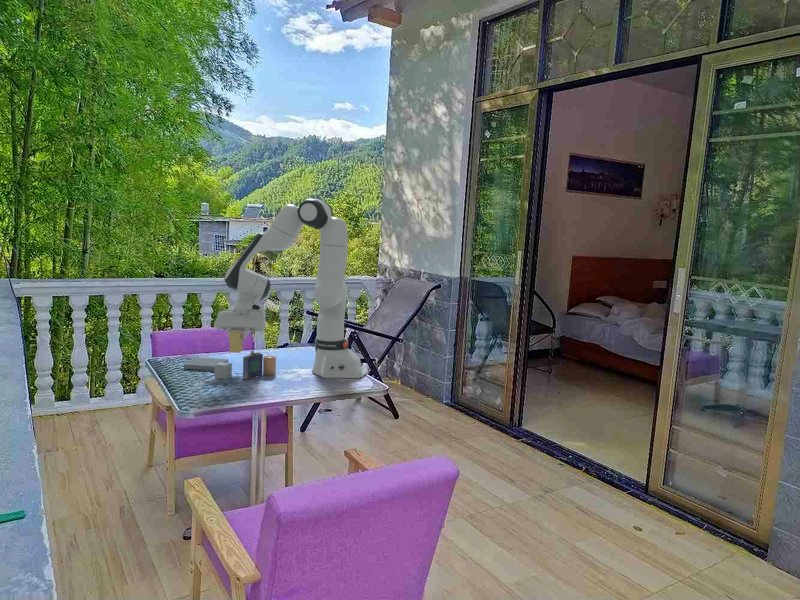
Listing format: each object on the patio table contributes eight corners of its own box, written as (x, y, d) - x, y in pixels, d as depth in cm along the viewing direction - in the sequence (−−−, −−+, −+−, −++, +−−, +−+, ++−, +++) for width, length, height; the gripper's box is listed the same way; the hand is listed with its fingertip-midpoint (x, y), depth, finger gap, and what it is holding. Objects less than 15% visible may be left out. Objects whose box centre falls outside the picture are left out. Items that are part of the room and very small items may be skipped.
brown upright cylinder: (277, 372, 226) (277, 355, 225) (273, 375, 221) (273, 358, 220) (265, 371, 227) (265, 355, 226) (261, 375, 222) (261, 358, 221)
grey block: (231, 375, 219) (231, 363, 219) (227, 379, 214) (227, 366, 214) (219, 375, 220) (219, 362, 219) (214, 378, 215) (214, 365, 214)
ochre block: (242, 350, 225) (242, 331, 224) (239, 352, 221) (239, 333, 220) (233, 350, 226) (233, 330, 224) (229, 352, 222) (229, 332, 221)
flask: (245, 380, 214) (245, 353, 212) (240, 378, 215) (240, 352, 214) (263, 375, 221) (264, 349, 220) (258, 374, 223) (259, 348, 222)
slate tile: (228, 363, 236) (228, 359, 236) (217, 371, 224) (217, 366, 224) (196, 361, 237) (196, 357, 236) (183, 369, 225) (183, 364, 224)
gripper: (217, 305, 229) (208, 332, 221) (266, 307, 228) (258, 335, 220) (221, 313, 234) (213, 341, 226) (269, 315, 233) (262, 343, 225)
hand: (236, 338), depth 223 cm, fingers closed on ochre block, 4 cm apart
